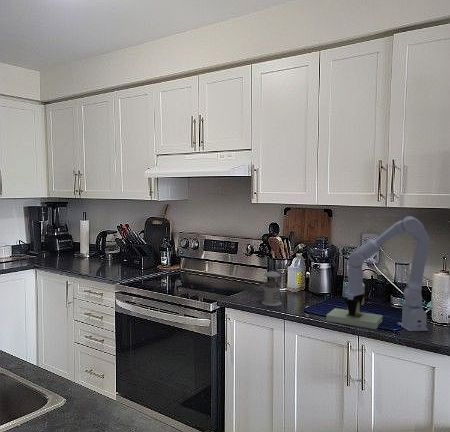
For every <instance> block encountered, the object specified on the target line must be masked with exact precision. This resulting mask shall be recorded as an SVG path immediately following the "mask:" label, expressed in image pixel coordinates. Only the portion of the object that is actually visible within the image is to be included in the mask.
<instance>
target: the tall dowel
mask: <svg viewBox="0 0 450 432" xmlns="http://www.w3.org/2000/svg"><path fill="white" fill-rule="evenodd" d="M359 312H361V308H360V302H358V304H357V307H356V313H355V316H351V315H349V316H350V317H356V318H359Z"/></svg>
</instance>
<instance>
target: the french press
mask: <svg viewBox="0 0 450 432" xmlns="http://www.w3.org/2000/svg"><path fill="white" fill-rule="evenodd" d="M270 254H271V256H272V257H271V266H272V267H271V270H270V271H267V272H265V273H263V276H264V277H267V278H272V279H274V281H273V280H270V281H265V282H264V285H263V301H261V304H262V305H265V306H267V307H268V306H269V307H270V306H271V307H274V306H275V307H276V306H280V305H282V302H281V286H280V281H279V280H280V279H279V277H281V276H282V274H280V272H277V271H274V270H273V266H274V265H273V263H274V261H273V260H274V258H273V255H275V251H270ZM277 280H278V281H277Z"/></svg>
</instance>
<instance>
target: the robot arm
mask: <svg viewBox="0 0 450 432" xmlns="http://www.w3.org/2000/svg"><path fill="white" fill-rule="evenodd" d="M405 232H406V233H407V234H409V235H411V237H412V238H413V239H414V240H415V245H414V246H415V247H414V250H413V256H412V262H411V267H410V272H409V277H408V280H407V285H406V286H405V288H404V290H403V292H402V293H403V297H404V301H402V306H401V308H402V309H401V310H402V312H401V313H402V315H401V322H397V325H398V326H400V325H401V326H400V327H402V328H403V329H405V330H407V331H408V332H428V331H429V329H428V328H427V318H428V316H427V313H426V311H425V310H424V308H423V303H422V302H423V296H422V290H423V289H422V287H423V286H422V282H423V278H424V273H425V267H426V264H427V263H426V262H427V256H428V251H429V248H430V247H429V245H430V236H429V234H428V232H427V230H426V228H425V226H424V224H423V223H422V222H421V221H420V220H419V219H417V218H416V217H414V216H411V215H408V216H405V217H403V219H400V220H399V221H397V222H395V223H394V224H393V225H391V226H390V227H389V228H388V229H386V230H385V231H383V232H382V233H381V234H380V235H379V236H377V237H376V238H375V239H368V240H367V239H366V240H364V242H363V244H362V245H361V246H359V247H358V248H357V247H356V248H355V249H354V250H355V251H352V252H350V254H349V255H348V274H347V275H348V276H347V278H348V279H347V285H348V286H347V289H345V290H344V292H345V293H347V296H345V297H344V301H345V303H346V308H347V307H348V312H349V315H351V316H355V313H356V307H357V304H358V302H360V309H361V307H362V305H361V303H362V300H363V298H364V299H365V296H366V294H365V293H364V294H363V291H362V286H363V283H364V282H363V280H364V271H363V270H364V269H363V264H364V261H367V260H368V259H370V258H371V257H373V256H374V255H375V254H376V253H378V252H379V251H380V247H381V246H382V245H383V244H385V243H386V242H387V241H389V240H390V239H392V238H393V237H395V236H396V235H402V234H403V235H404V234H405Z"/></svg>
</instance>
